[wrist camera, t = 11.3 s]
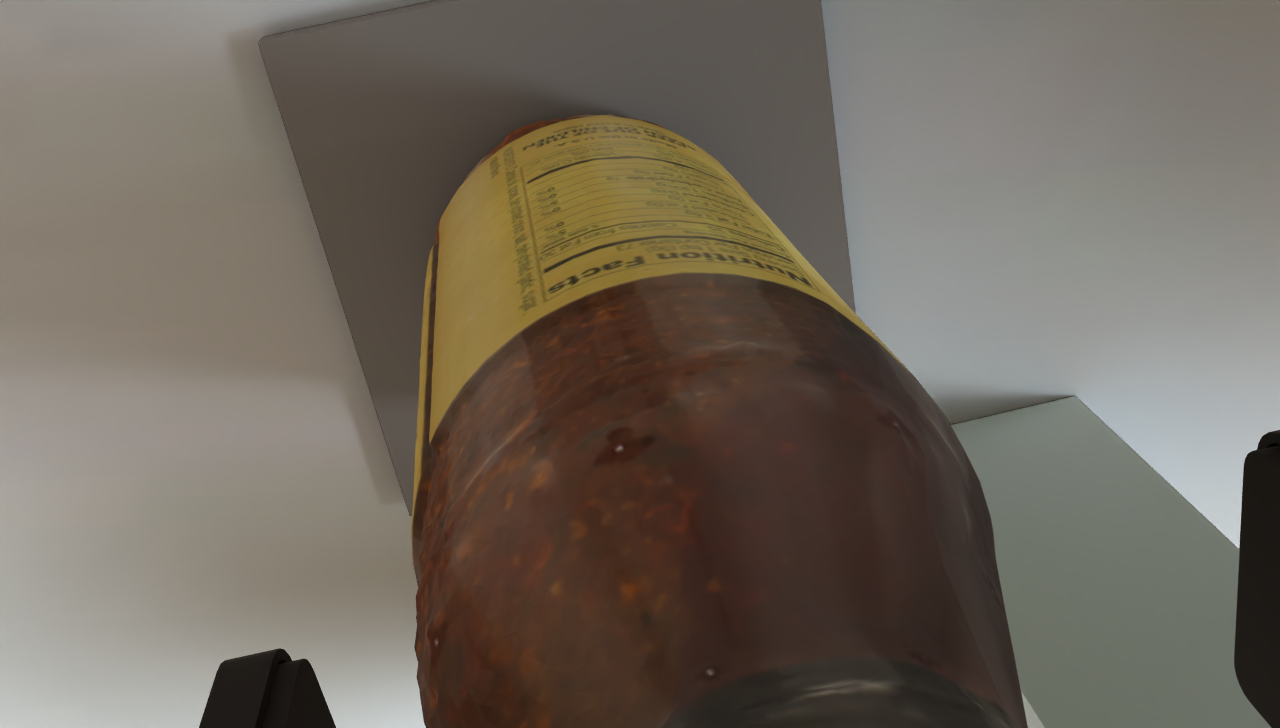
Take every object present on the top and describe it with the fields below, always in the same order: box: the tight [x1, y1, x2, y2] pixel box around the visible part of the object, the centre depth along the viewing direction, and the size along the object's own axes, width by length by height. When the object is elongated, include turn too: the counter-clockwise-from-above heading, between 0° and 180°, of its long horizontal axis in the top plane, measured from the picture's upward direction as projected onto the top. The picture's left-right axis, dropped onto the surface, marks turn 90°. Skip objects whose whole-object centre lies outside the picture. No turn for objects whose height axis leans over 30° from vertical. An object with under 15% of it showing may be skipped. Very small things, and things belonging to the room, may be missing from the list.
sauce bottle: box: [411, 114, 1028, 728], centre depth 14 cm, size 7×6×20 cm
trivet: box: [258, 0, 856, 516], centre depth 23 cm, size 10×10×1 cm
